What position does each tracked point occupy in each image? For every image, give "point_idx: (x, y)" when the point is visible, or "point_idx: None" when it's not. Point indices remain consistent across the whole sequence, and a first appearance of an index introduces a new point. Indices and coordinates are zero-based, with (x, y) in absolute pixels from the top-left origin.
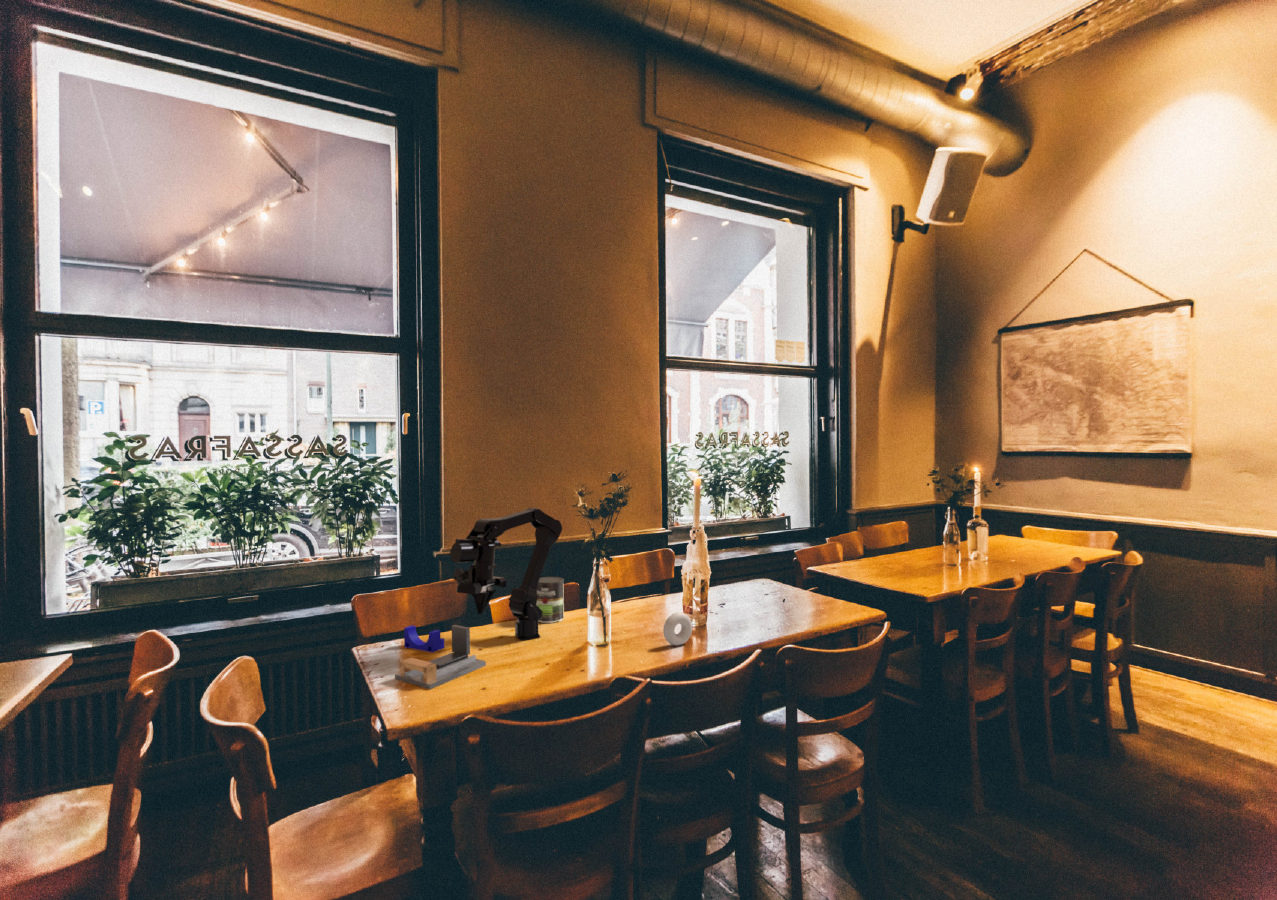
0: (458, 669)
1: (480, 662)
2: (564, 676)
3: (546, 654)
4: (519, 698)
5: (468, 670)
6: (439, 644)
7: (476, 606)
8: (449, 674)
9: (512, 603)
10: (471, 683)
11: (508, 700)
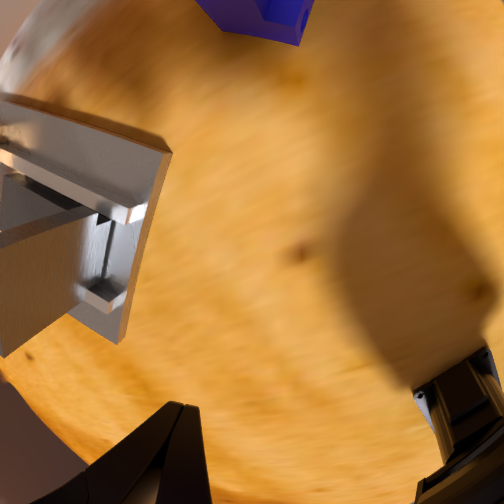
0: None
1: (100, 330)
2: None
3: (262, 471)
4: (38, 414)
5: None
6: (259, 27)
7: (114, 449)
8: None
9: (493, 493)
10: None
11: (26, 399)
